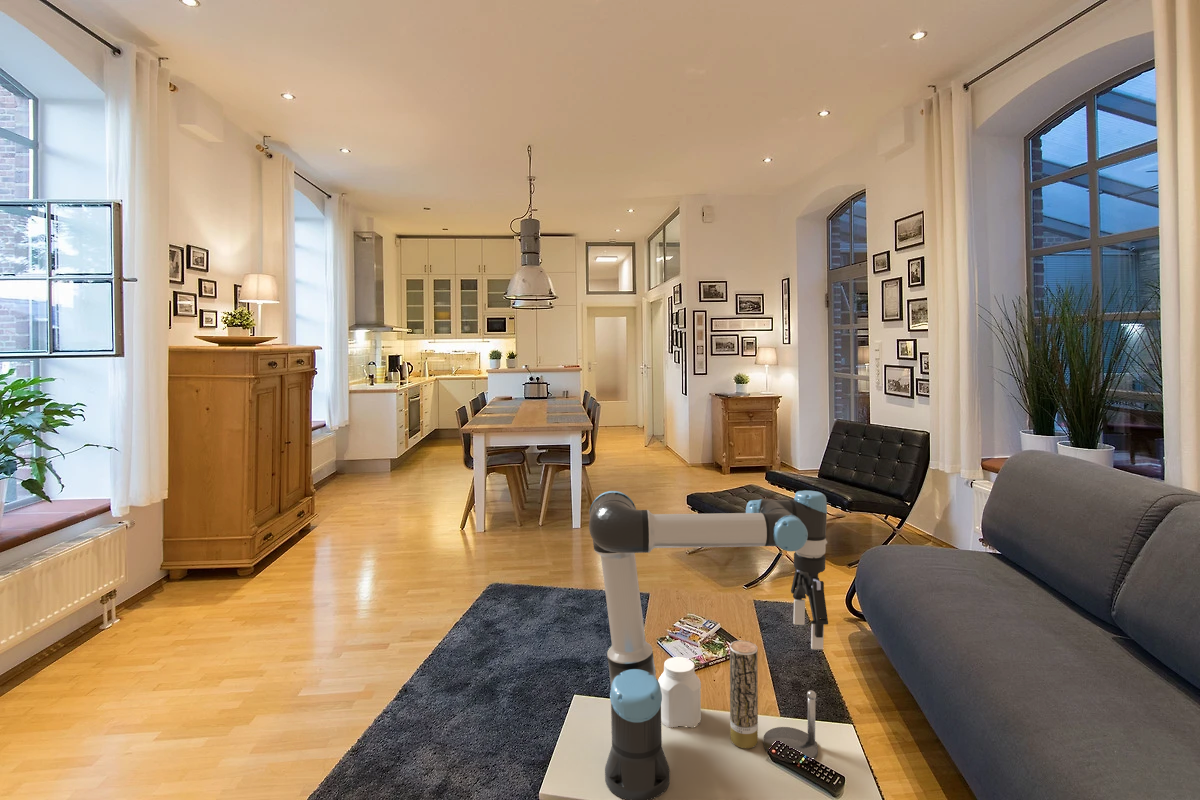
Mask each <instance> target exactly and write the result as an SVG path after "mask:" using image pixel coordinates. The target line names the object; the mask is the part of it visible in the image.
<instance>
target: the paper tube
mask: <svg viewBox="0 0 1200 800" xmlns="http://www.w3.org/2000/svg"><path fill="white" fill-rule="evenodd" d="M758 653H759V652H758V646H757V645H756V644H755V643H754V642H752V641H748V640H740V639H739V640H735V641H733V642H732V641H731V642H730V643H729V693H730V694H729V701H730V705H729V707H730V708H729V709H730V711H729V712H730V716H729V720H730V727H729V728H730V730H729V731H730V741H731V742H732V744H733V745H735V746H736V747H738V748H741V749H752V748H754V747H756V746H757V745H758V741H759V740H758V739H759V737H758V736H759V734H758V733H759V732H758V731H759V730H758V729H759V728H758V726H759V724H758V723H759V721H758V719H759V718H758V717H759V712H758V711H759V709H758V708H759V707H758V706H759V704H758V700H759V699H758V698H759V697H758V695H759V694H758V691H759V689H758V687H759V686H758V685H759V684H758V678H759V675H758V663H759V661H758V659H759V658H758Z"/></svg>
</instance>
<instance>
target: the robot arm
mask: <svg viewBox="0 0 1200 800" xmlns="http://www.w3.org/2000/svg"><path fill="white" fill-rule="evenodd" d="M827 516H828V504H827V497H826V495H825V494H824V493H822V492H820V491H817V490H816V491H815V490H806V489H805V490H798V491H796V492H795V494H794V498H793V499H762V498H760V499H753V500H751V499H750V500H749V501H748V502H747V503H746V507H745V512H735V513H732V512H731V513H728V512H726V513H725V512H723V513H714V512H713V513H652V512H651V511H650V510H649V509H637V508H636V505H635V503H634V502H633V500H632V498H630V497H629V496H628V495H627V494H625V493H623V492H621V491H618V490H609V491H605V492H602V493H600V494H599V495H598V496H596V498H595V499H594V500H593V501H592V504H591V505H590V508H589V520H588V521H589V522H588V529H589V530H588V531H589V534H590V537H591V539H592V544H593V550H594V552H595V553H597V554H598V555H599V556H600V562H601V567H602V577H603V584H604V593H605V599H606V606H607V607H606V608H607V616H608V624H609V632H610V639H611V641H610V642H611V646H610V647H608V648H609V649H608V650H607V653H606V656H607V663H608V670H609V671H608V672H609V680H610V691H609V700H610V715H611V721H610V723H611V747H610V750H609V754H608V757H607V759H606V763H605V767H604V782H605V784H606V786H607V788H608V790H609V791H610V792H611V793H613V795H615V796H617V797H618V798H621V799H624V800H653V799H656V798H657V797H659V796H662V794H663V793H665V792H666V791H667V789H668V788H669V785H670V779H671V778H670V777H671V776H670V775H671V774H670V772H671V771H670V766H669V763H668V760H667V757H666V754H665V752H664V748H663V746H662V745H663V741H662V738H663V737H662V722H661V702H662V693H661V688H660V684H659V682H658V679H657V675H656V673H657V672H656V666H655V660H654V659H655V658H654V651H653V647H652V644H650V643H649V642H647V641H646V635H645V625H644V619H643V618H644V617H643V610H642V602H641V593H640V585H639V577H638V568H637V562H636V561H637V560H636V554H642V553H643V554H645V553H650V552H652V551H653V549H669V548H670V549H671V548H675V549H676V548H678V549H679V548H730V547H731V548H734V547H735V548H737V547H738V548H741V547H745V548H746V547H750V548H753V547H778V549H781V550H783V551H786V552H794V553H793V567H794V568H795V571H794V575H793V579H792V584H791V589H790V593H791V594H792V597H793V622H792V623H793V625H794V626H795V625H796V626H797V625H798V626H800V625H801V626H803V625H804V626H805V622H806V621H805V618H806V612H805V611H806V600H805V599H807V597H808V601H809V607H810V611H811V617H812V620H811V621H810V624H811V629H810V630H811V632H810V633H811V635H810V636H811V638H810V649H811V650H824V639H825V638H824V636H825V635H824V634H825V633H824V631H825V625H827V626H828V625H829V620H828V611H827V604H826V598H825V597H826V596H825V583H824V581H823V580H820V578H819V574H820V573H823V572H824V571H825V569H826V556H825V554H826V549H827V548H826V547H827V544H828V540H827V535H826V534H827V518H828V517H827Z"/></svg>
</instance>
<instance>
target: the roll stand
mask: <svg viewBox="0 0 1200 800" xmlns="http://www.w3.org/2000/svg"><path fill="white" fill-rule="evenodd" d="M806 697H807V731H806V732H805V731H803V730H802V729H799V728H796V727H795V728H794V727H789V726H778V727H773V728H770V729H769V730H767V731H766V732H765V733H764V735H763V739H762V743H763V748H764V750H765V751H766V752H767V753H768V751H769V748H770V747H771V746H772V744H773V743H774V742H775V741H781V742H783V743H784V744H786V745H788V746H790V747H792V748H794V749H796V750H798V751H800V752H802V753H803V754H804V755H806V756H808V757H810V758H814V760H815V759H816V758H817V756H818V753H819V752H818V751H819V749H818V747H819V746H818V743H817V741H816V698H817V693H816V692H815V691H814V690H811V689H810V690H808V691H807V693H806Z"/></svg>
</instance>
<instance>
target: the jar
mask: <svg viewBox="0 0 1200 800" xmlns="http://www.w3.org/2000/svg"><path fill="white" fill-rule="evenodd" d="M695 668H696V667H695V663H694V661H693V660H691V659H689V658H687V657H686V658H685V657H682V656H675V657H673V656H672V657H668V658H667V659H666V660H665V661H664V662H663V672H662V673H661V675H660V676H659V678H658V679H657V680H658V682H659V684H660V688H661V693H662V702H661V724H662V725H664V726H666V727H667V728H669V727H670V728H671V727H672V729H673V727H674V728H679V727H678V726H687V727H686V728H688V727H694V726H696V725H697V724H698V723H699V722H700V723H701V721H702V708H701V707H702V705H701V692H702V691H701V688H702V687H701V686H702V683H701V679H700V677H699V676H698V674H696V672H695ZM700 720H701V721H700ZM700 723H699V724H700ZM699 724H698V725H699ZM698 725H697V726H698ZM697 726H696V727H697ZM694 728H695V727H694Z"/></svg>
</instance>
